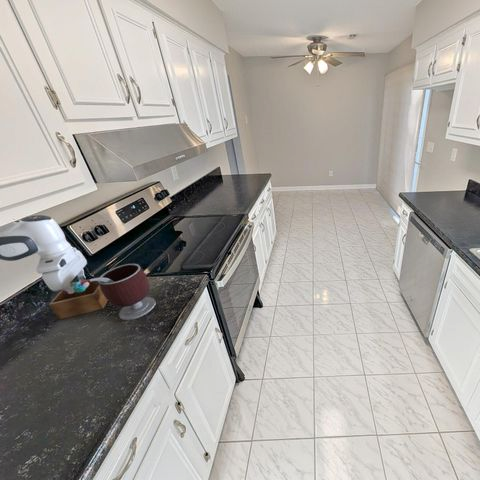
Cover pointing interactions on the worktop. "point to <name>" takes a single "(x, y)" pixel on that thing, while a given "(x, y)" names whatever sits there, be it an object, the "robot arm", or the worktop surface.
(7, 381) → the worktop surface
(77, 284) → the anatomy model
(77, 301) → the crate
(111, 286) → the mate gourd
